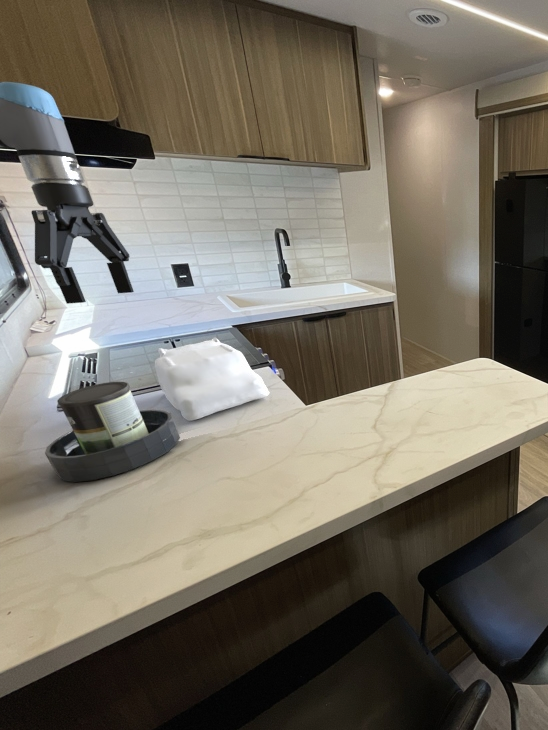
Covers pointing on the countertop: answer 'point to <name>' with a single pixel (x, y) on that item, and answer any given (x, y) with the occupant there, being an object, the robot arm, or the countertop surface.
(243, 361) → the white bag
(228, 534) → the countertop surface
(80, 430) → the coffee can
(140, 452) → the shallow grey round dish
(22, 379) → the countertop surface
